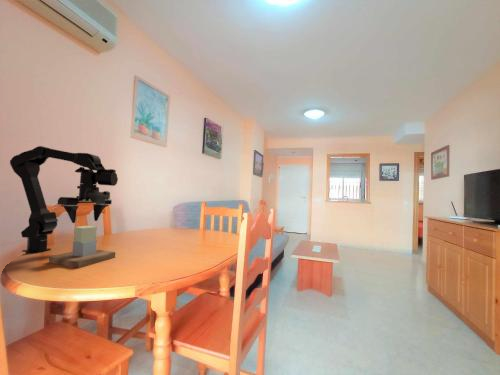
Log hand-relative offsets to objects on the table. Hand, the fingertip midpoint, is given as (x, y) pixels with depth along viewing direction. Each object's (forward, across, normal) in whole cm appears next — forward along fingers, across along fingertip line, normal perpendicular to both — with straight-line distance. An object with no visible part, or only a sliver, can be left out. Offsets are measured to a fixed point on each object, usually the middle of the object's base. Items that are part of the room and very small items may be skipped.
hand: (85, 221), depth 95 cm
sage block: (+5, -7, -10) cm, 13 cm away
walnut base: (+12, -7, -11) cm, 18 cm away
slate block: (+10, -7, -11) cm, 16 cm away
